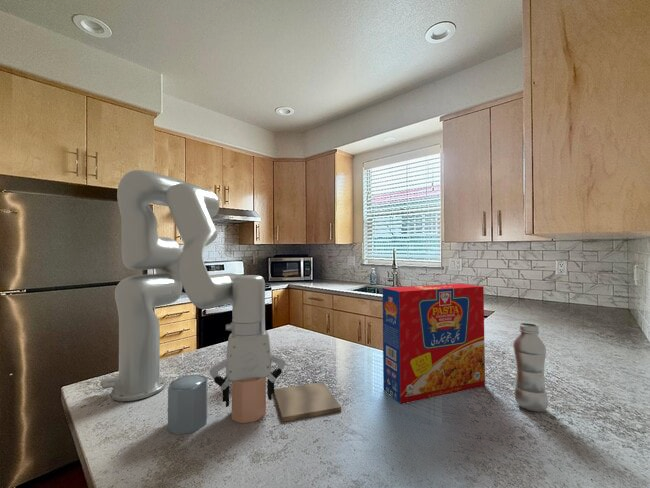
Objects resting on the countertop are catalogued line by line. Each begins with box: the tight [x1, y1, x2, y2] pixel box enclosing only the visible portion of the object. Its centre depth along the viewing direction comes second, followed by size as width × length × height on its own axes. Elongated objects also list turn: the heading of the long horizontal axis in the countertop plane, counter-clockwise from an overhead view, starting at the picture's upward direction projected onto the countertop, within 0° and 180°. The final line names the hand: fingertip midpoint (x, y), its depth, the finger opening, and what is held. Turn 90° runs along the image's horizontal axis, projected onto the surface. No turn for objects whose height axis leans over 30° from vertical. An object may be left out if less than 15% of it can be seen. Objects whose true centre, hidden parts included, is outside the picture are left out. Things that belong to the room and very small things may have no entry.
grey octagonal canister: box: [167, 374, 209, 436], centre depth 65 cm, size 8×8×9 cm
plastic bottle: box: [512, 322, 549, 413], centre depth 71 cm, size 6×7×20 cm
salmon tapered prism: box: [231, 377, 267, 424], centre depth 69 cm, size 8×8×9 cm
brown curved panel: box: [273, 381, 342, 423], centre depth 74 cm, size 14×14×1 cm
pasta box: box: [382, 283, 486, 405], centre depth 82 cm, size 28×8×28 cm, turn 110°
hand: (248, 400), depth 69 cm, fingers open, 9 cm apart
